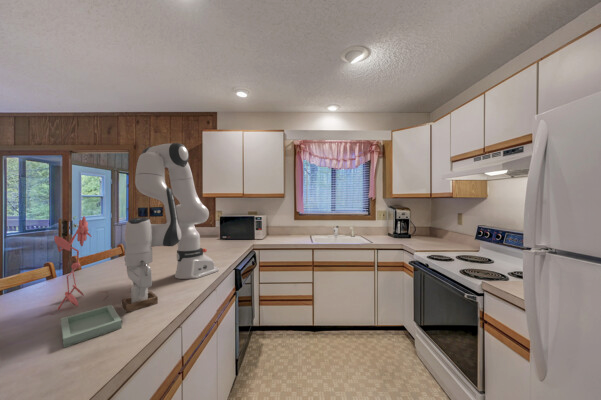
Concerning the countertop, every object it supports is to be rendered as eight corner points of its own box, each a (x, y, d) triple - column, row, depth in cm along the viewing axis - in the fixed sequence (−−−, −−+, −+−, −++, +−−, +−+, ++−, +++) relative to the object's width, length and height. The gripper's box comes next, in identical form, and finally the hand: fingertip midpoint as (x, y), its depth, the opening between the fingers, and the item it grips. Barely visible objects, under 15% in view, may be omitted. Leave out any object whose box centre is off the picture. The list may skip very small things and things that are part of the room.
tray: (60, 325, 75) (60, 318, 75) (111, 311, 85) (111, 304, 85) (63, 347, 64) (63, 338, 64) (121, 327, 74) (121, 320, 74)
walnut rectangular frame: (151, 297, 97) (151, 291, 97) (157, 303, 91) (157, 296, 91) (121, 305, 89) (121, 299, 89) (126, 312, 84) (126, 305, 84)
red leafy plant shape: (45, 319, 79) (47, 218, 80) (69, 294, 101) (70, 215, 102) (103, 308, 88) (104, 217, 88) (113, 287, 109) (114, 214, 110)
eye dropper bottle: (130, 305, 90) (129, 274, 90) (146, 300, 94) (146, 271, 94) (132, 308, 87) (131, 277, 87) (149, 303, 91) (149, 273, 91)
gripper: (156, 261, 86) (157, 298, 86) (141, 253, 99) (141, 285, 99) (136, 265, 81) (136, 304, 81) (123, 256, 95) (123, 289, 95)
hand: (139, 294), depth 90 cm, fingers open, 5 cm apart
